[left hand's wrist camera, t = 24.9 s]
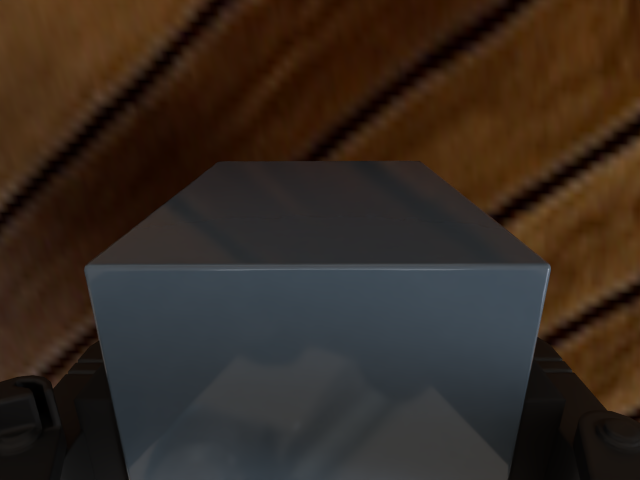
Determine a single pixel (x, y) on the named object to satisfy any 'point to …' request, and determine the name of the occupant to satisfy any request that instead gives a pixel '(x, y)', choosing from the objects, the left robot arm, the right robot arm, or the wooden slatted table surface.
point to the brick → (318, 327)
